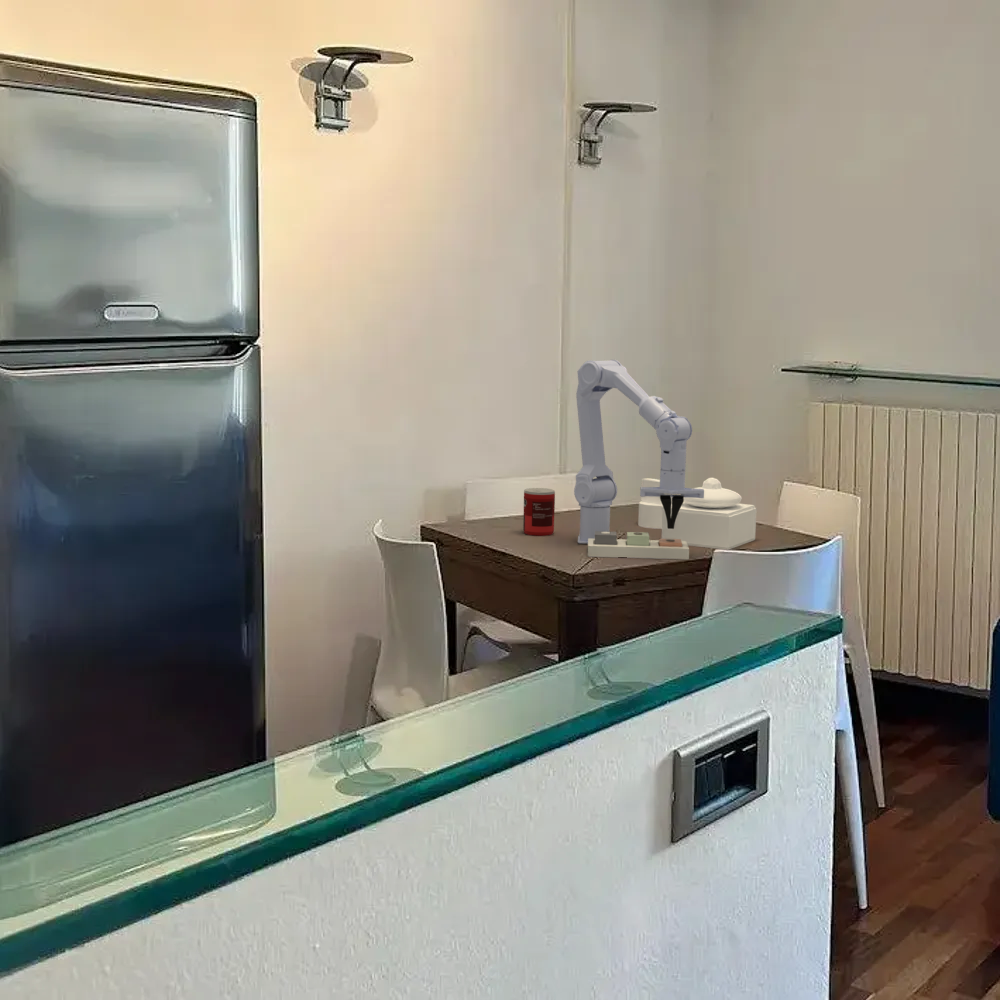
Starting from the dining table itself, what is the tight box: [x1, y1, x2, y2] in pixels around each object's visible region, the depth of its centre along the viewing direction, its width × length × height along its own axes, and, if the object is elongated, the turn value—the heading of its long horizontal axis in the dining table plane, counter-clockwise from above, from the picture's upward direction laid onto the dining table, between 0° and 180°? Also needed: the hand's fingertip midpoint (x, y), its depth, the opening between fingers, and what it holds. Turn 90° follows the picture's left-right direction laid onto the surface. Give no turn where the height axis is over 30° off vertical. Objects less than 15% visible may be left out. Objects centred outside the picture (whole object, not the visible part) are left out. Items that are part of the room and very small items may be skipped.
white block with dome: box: [660, 477, 757, 551], centre depth 336 cm, size 18×18×16 cm
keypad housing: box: [587, 538, 690, 560], centre depth 317 cm, size 10×23×2 cm, turn 86°
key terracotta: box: [658, 538, 682, 547], centre depth 317 cm, size 5×5×3 cm
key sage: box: [626, 531, 650, 546], centre depth 317 cm, size 5×5×3 cm
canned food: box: [522, 487, 556, 537], centre depth 343 cm, size 8×8×11 cm
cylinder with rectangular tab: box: [637, 477, 673, 530], centre depth 358 cm, size 9×9×12 cm
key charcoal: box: [595, 531, 618, 545], centre depth 318 cm, size 5×5×3 cm
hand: (670, 528), depth 316 cm, fingers closed
